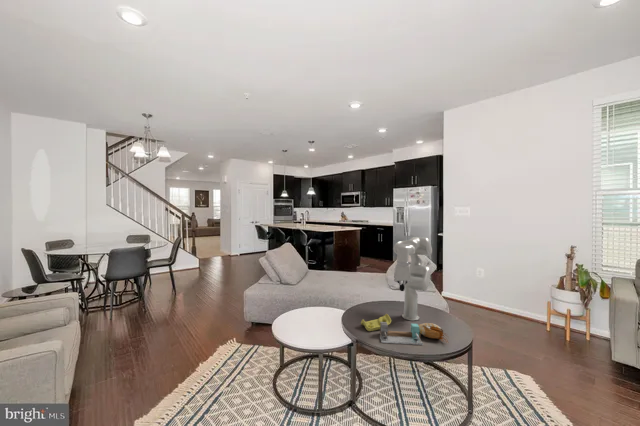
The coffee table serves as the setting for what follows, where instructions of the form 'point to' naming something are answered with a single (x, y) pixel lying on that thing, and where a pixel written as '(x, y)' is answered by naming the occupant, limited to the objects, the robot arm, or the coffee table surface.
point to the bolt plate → (401, 340)
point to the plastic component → (376, 323)
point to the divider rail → (386, 333)
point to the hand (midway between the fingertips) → (401, 290)
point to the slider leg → (415, 330)
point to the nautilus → (431, 331)
